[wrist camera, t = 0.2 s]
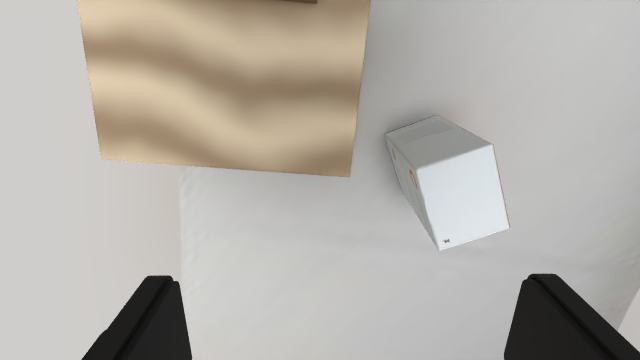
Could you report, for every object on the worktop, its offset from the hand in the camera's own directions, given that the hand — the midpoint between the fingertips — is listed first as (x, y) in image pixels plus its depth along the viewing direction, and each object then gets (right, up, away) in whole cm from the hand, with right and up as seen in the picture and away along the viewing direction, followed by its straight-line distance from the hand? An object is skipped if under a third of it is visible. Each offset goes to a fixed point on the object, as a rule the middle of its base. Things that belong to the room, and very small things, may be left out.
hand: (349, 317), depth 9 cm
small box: (+11, +7, +31) cm, 33 cm away
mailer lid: (-8, +13, +19) cm, 24 cm away
